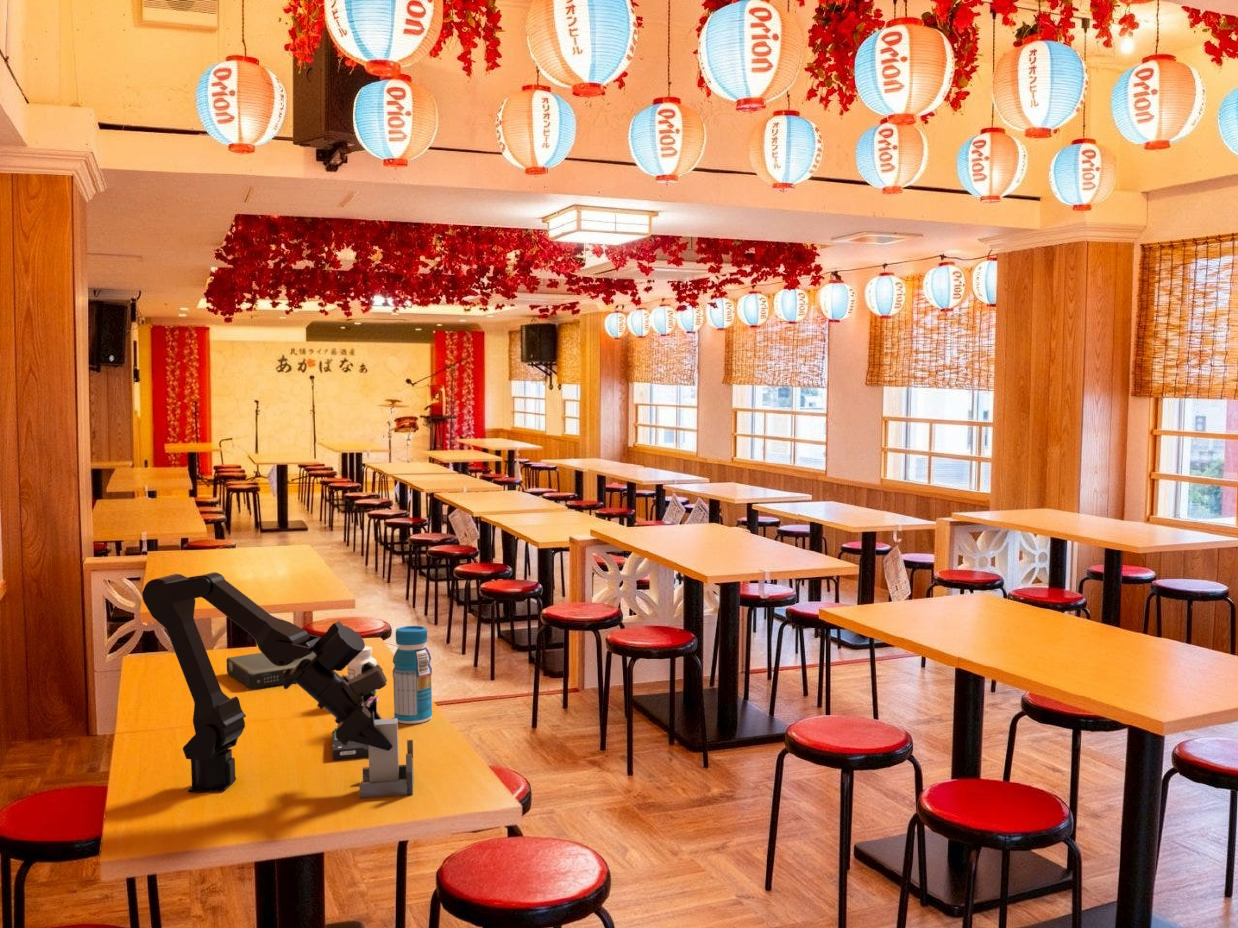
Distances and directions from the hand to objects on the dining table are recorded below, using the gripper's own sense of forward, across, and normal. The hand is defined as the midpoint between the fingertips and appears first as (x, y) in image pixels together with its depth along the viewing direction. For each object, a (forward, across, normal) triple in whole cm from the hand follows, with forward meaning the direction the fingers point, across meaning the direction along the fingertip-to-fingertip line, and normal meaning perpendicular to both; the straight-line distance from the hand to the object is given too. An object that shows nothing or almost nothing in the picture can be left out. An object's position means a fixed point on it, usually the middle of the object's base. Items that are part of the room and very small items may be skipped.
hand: (391, 743), depth 189 cm
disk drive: (+1, +25, +12) cm, 28 cm away
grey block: (+5, 0, +6) cm, 8 cm away
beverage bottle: (+8, +42, +4) cm, 43 cm away
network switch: (-16, +90, +29) cm, 96 cm away
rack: (+5, 0, +6) cm, 8 cm away
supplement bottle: (-1, +58, +12) cm, 59 cm away
